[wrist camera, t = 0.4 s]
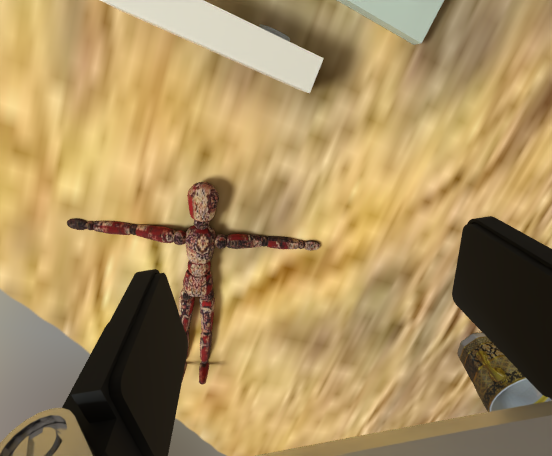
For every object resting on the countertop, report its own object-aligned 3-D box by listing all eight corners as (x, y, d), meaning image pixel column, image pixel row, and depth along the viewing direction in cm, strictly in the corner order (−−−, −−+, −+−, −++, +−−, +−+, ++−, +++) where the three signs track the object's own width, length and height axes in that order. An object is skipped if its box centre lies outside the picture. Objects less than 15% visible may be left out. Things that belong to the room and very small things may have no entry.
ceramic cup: (513, 341, 54) (568, 394, 45) (465, 374, 57) (508, 429, 48) (477, 305, 49) (530, 356, 40) (427, 342, 52) (466, 398, 43)
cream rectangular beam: (119, 10, 28) (97, -2, 24) (127, -35, 27) (104, -57, 22) (299, 90, 33) (309, 93, 28) (313, 55, 31) (326, 52, 27)
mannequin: (25, 293, 40) (3, 316, 36) (136, 110, 32) (122, 116, 28) (200, 367, 50) (197, 392, 46) (319, 241, 42) (327, 258, 38)
